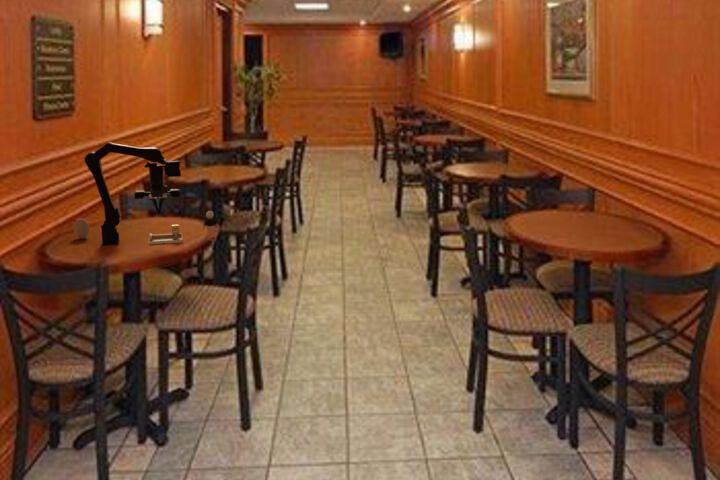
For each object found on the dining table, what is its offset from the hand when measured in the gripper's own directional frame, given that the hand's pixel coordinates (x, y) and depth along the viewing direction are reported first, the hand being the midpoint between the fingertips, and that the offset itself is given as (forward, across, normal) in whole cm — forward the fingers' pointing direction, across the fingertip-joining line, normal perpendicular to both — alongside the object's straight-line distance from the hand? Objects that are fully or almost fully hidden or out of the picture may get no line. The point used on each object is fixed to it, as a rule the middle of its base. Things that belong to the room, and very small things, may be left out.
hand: (158, 213), depth 329 cm
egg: (+12, -34, +14) cm, 38 cm away
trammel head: (+10, +7, -2) cm, 12 cm away
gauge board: (+12, +2, -2) cm, 12 cm away
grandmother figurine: (+12, +21, -4) cm, 25 cm away
